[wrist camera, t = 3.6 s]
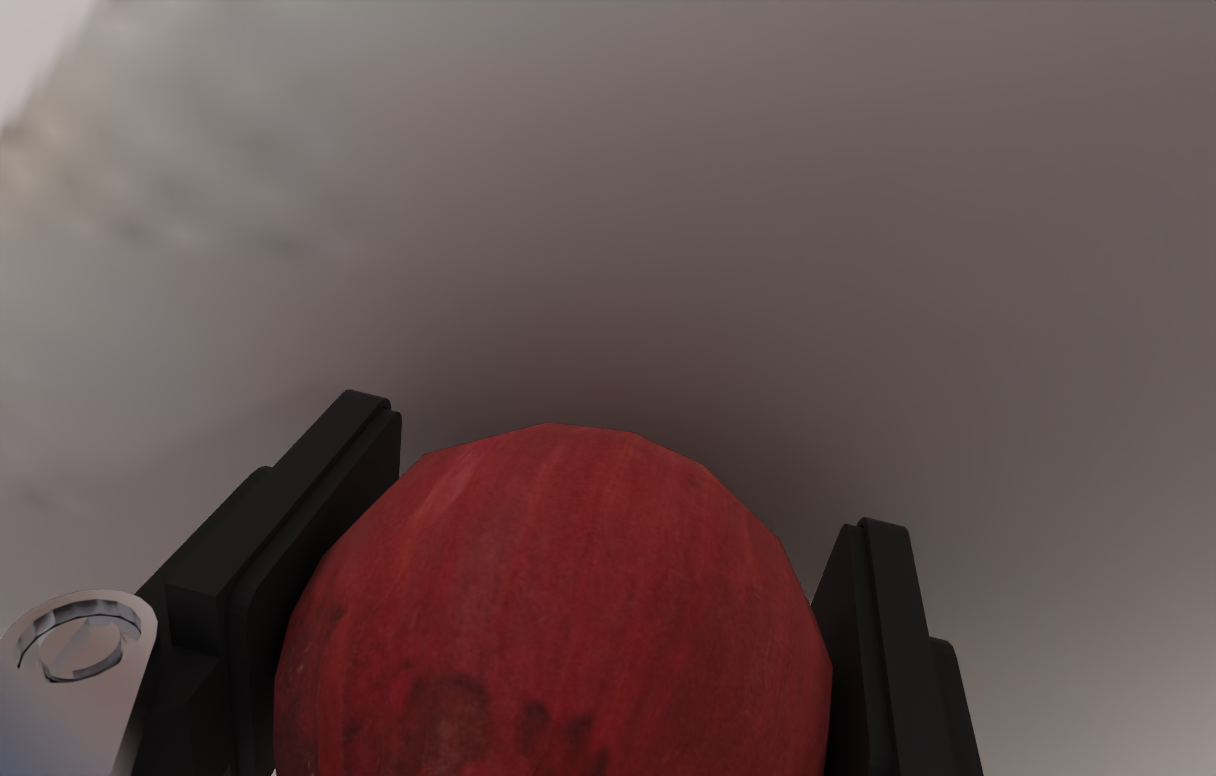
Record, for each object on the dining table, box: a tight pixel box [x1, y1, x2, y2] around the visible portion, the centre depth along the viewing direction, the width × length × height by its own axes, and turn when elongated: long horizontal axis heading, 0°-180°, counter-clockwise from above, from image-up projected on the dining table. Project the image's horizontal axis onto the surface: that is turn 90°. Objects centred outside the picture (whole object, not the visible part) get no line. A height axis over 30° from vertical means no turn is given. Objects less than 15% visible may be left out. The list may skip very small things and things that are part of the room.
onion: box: [273, 422, 833, 776], centre depth 9 cm, size 6×6×8 cm
